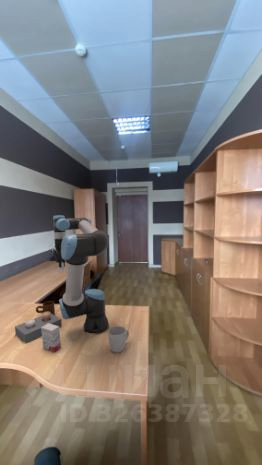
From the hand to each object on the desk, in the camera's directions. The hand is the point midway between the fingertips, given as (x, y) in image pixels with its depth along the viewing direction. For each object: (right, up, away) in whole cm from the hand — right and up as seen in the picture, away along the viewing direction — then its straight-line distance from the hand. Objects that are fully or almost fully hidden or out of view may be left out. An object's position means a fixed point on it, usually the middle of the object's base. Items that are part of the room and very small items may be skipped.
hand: (62, 271), depth 149 cm
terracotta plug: (-5, -31, -15) cm, 34 cm away
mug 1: (-11, -31, -2) cm, 33 cm away
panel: (-8, -32, -18) cm, 38 cm away
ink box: (+6, -34, -36) cm, 50 cm away
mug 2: (+42, -33, -37) cm, 65 cm away
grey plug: (-11, -32, -22) cm, 41 cm away
